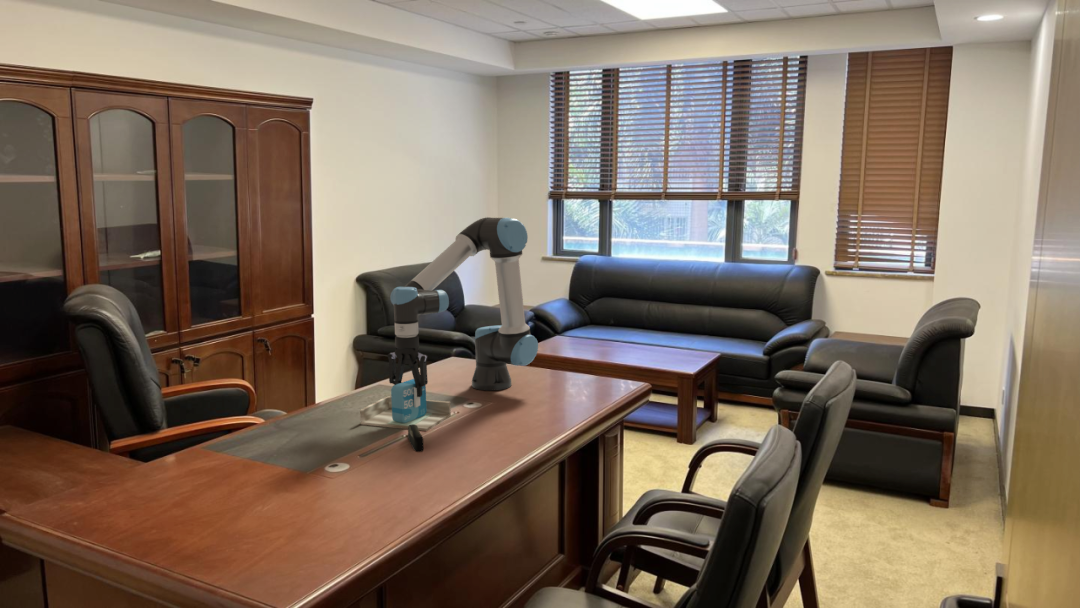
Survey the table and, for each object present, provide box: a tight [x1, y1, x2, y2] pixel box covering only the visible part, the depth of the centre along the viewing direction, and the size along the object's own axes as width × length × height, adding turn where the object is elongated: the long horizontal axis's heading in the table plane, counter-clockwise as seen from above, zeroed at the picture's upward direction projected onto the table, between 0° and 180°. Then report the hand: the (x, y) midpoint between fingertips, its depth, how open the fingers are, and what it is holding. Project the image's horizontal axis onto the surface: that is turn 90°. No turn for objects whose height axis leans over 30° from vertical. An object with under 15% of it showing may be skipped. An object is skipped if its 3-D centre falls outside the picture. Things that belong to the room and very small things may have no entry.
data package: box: [390, 378, 427, 423], centre depth 252 cm, size 12×4×12 cm, turn 149°
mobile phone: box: [406, 424, 424, 453], centre depth 231 cm, size 5×3×15 cm
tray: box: [359, 395, 452, 432], centre depth 254 cm, size 17×24×5 cm
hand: (409, 405), depth 252 cm, fingers closed on data package, 5 cm apart
